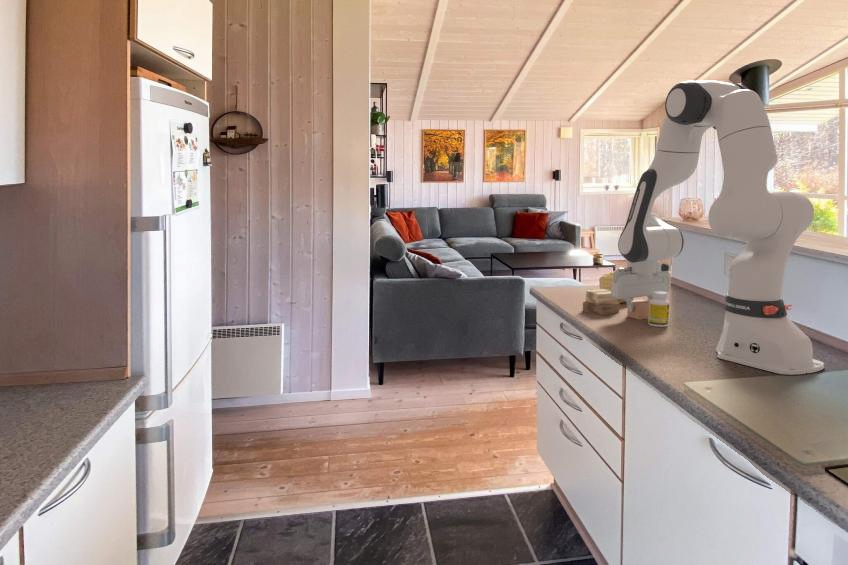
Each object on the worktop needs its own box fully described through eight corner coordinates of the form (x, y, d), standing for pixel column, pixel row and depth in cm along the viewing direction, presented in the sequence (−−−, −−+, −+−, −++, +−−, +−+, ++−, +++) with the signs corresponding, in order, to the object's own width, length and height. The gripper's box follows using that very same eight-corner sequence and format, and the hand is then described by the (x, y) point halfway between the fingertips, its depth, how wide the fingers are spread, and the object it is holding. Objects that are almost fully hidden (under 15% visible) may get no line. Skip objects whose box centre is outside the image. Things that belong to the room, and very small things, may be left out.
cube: (651, 318, 176) (652, 302, 175) (638, 319, 174) (639, 303, 173) (640, 314, 180) (640, 299, 179) (627, 316, 179) (628, 300, 178)
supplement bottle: (669, 327, 164) (671, 294, 162) (649, 327, 165) (651, 293, 163) (665, 323, 169) (667, 290, 168) (646, 322, 170) (648, 290, 169)
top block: (617, 303, 182) (617, 292, 182) (597, 305, 180) (597, 294, 180) (604, 299, 189) (605, 289, 188) (585, 300, 187) (586, 290, 187)
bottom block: (618, 313, 184) (619, 302, 183) (602, 316, 180) (602, 306, 179) (599, 309, 191) (599, 298, 190) (582, 312, 186) (583, 301, 186)
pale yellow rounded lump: (593, 299, 204) (594, 270, 202) (619, 296, 208) (620, 267, 207) (616, 306, 193) (618, 274, 191) (643, 302, 198) (644, 271, 196)
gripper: (621, 269, 168) (619, 315, 170) (675, 265, 175) (672, 309, 177) (607, 267, 174) (605, 311, 176) (660, 262, 181) (657, 305, 183)
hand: (639, 310), depth 177 cm, fingers closed on cube, 5 cm apart
